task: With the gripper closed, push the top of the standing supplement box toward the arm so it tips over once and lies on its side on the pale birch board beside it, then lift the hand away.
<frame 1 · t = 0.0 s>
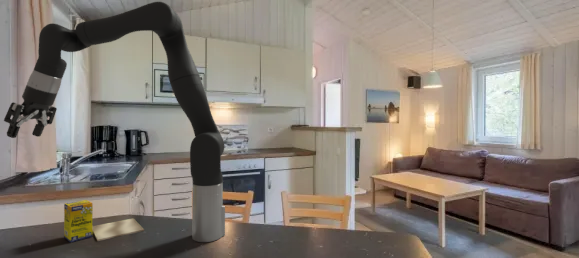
hand: (24, 136, 88), 31 cm above the table, tool tilted 20°, fingers open, 8 cm apart
supplement box: (78, 238, 89), on the table
birch board: (117, 229, 96), on the table
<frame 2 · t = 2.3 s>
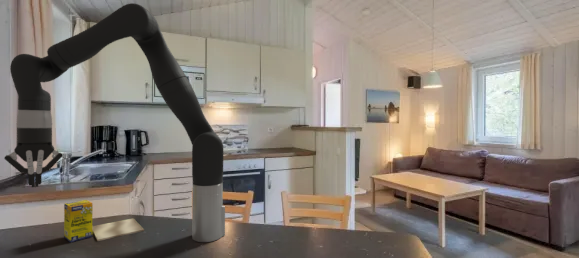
hand: (35, 186, 82), 17 cm above the table, tool pointing down, fingers closed
nothing on the table moved.
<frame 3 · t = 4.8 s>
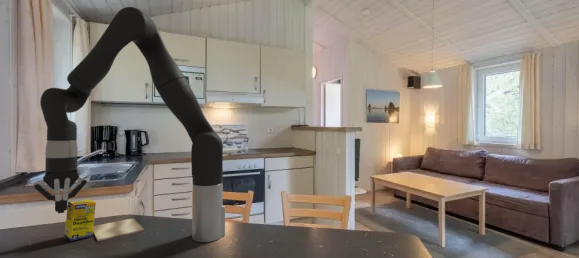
hand: (61, 212, 86), 9 cm above the table, tool pointing down, fingers closed
supplement box: (78, 237, 89), on the table, touching gripper
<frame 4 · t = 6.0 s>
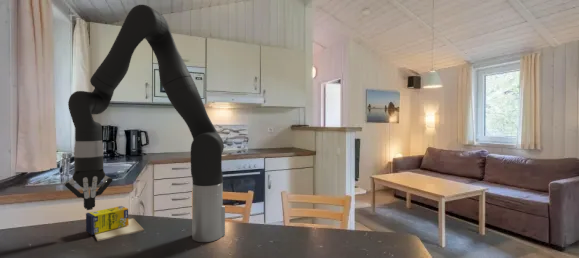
hand: (89, 209, 91), 8 cm above the table, tool pointing down, fingers closed
supplement box: (87, 224, 91), point 3 cm above the table, touching birch board
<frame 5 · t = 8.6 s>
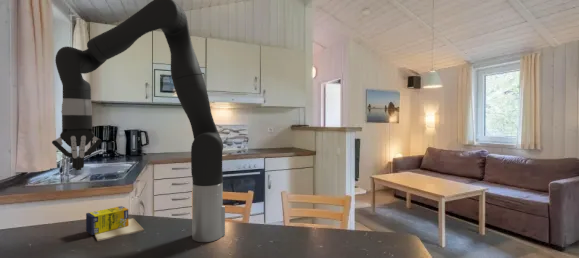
hand: (78, 169, 89), 21 cm above the table, tool pointing down, fingers closed
nothing on the table moved.
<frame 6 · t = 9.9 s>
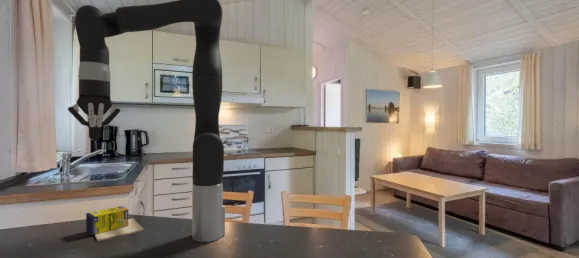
hand: (95, 140, 82), 31 cm above the table, tool pointing down, fingers closed
nothing on the table moved.
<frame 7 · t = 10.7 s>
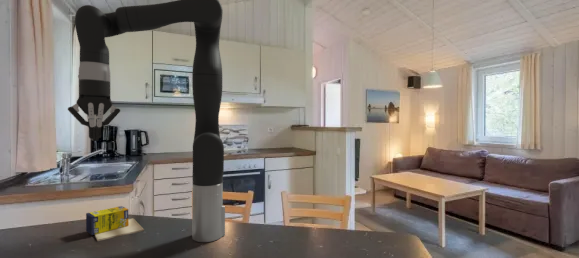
hand: (95, 140, 82), 31 cm above the table, tool pointing down, fingers closed
nothing on the table moved.
at the end: supplement box tilted 90°; supplement box touching birch board; supplement box inside the target area (1.2 cm from its centre), point 3.4 cm above the table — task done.
